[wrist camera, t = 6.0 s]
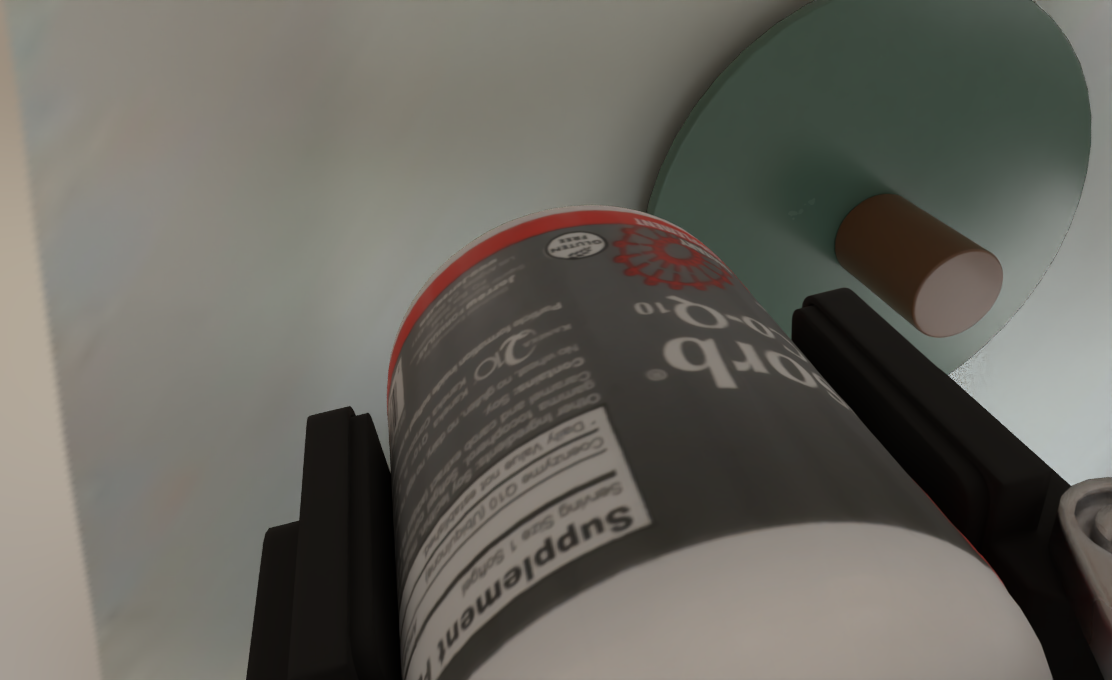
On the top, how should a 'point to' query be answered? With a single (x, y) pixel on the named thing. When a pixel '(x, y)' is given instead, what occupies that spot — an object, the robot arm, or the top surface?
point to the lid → (890, 163)
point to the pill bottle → (656, 483)
